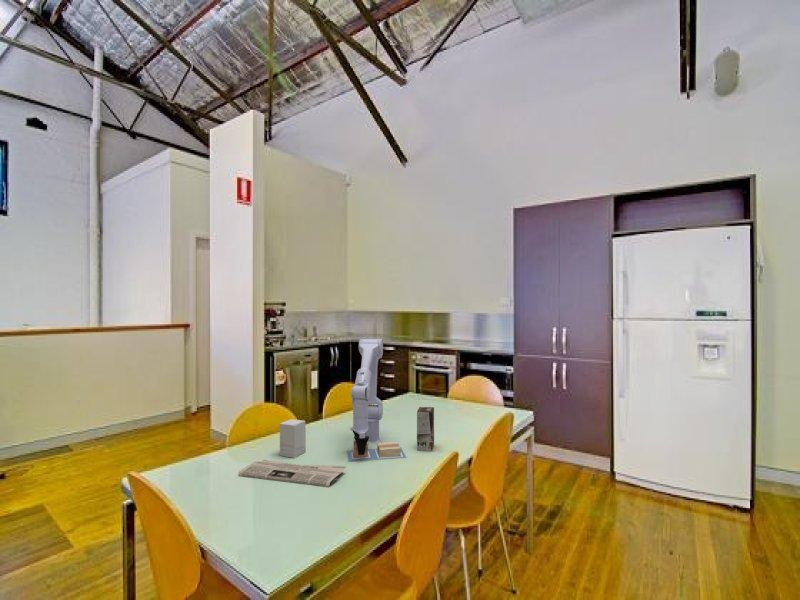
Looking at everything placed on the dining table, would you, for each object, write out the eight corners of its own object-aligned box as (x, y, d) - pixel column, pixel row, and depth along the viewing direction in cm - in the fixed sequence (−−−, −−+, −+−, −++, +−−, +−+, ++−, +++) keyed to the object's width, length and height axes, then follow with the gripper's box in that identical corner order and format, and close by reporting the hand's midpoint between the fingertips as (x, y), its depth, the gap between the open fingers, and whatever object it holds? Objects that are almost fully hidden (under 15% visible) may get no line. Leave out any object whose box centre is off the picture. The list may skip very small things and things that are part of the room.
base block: (377, 450, 165) (377, 442, 165) (396, 449, 166) (396, 441, 166) (379, 457, 157) (379, 449, 157) (400, 456, 158) (400, 448, 158)
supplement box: (306, 452, 164) (306, 420, 165) (294, 458, 158) (294, 425, 158) (291, 449, 168) (291, 418, 168) (279, 455, 161) (279, 423, 161)
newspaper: (238, 477, 141) (238, 467, 142) (259, 464, 153) (259, 454, 154) (333, 489, 132) (333, 478, 132) (348, 474, 144) (348, 464, 144)
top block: (353, 453, 162) (353, 440, 162) (366, 452, 162) (366, 439, 163) (354, 457, 157) (354, 444, 157) (367, 457, 158) (367, 443, 158)
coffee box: (432, 453, 163) (432, 412, 164) (416, 452, 164) (416, 411, 165) (434, 445, 172) (434, 406, 173) (419, 444, 173) (419, 406, 174)
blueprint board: (346, 452, 165) (346, 450, 165) (400, 448, 169) (400, 447, 169) (348, 463, 153) (348, 461, 153) (406, 459, 157) (406, 457, 157)
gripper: (349, 412, 166) (349, 445, 166) (351, 421, 152) (351, 458, 152) (366, 411, 168) (366, 444, 167) (370, 420, 153) (370, 457, 153)
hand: (360, 451), depth 160 cm, fingers open, 6 cm apart
